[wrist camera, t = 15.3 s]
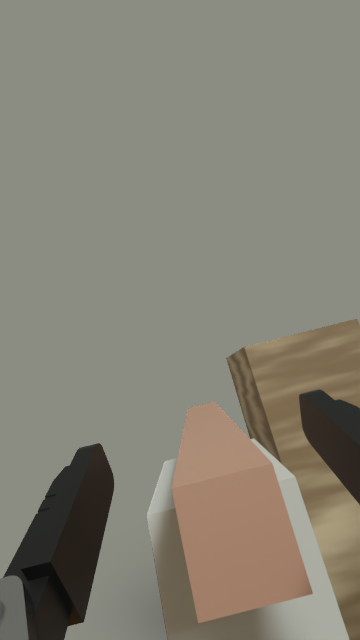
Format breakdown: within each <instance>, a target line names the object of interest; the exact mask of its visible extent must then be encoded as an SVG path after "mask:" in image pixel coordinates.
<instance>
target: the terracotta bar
mask: <svg viewBox="0 0 360 640" xmlns="http://www.w3.org/2000/svg"><path fill="white" fill-rule="evenodd" d="M172 493H173V498H174V504H175V509H176V514H177V519H178V524H179V529H180V534H181V539H182V544H183V549H184V554H185V559H186V564H187V569H188V574H189V579H190V584H191V589H192V594H193V599H194V604H195V609H196V614H197V619H198V623H202V622H206V621H210V620H214V619H217V618H221V617H225V616H229V615H233V614H237V613H241V612H245V611H249V610H253V609H256V608H260V607H264V606H268V605H272V604H276V603H280V602H284V601H288V600H292V599H295V598H299V597H303V596H307V595H311V594H313V592H312V589H311V585H310V582H309V579H308V576H307V573H306V569H305V566H304V563H303V560H302V557H301V553H300V550H299V547H298V544H297V541H296V537H295V534H294V531H293V528H292V525H291V521H290V518H289V515H288V512H287V509H286V505H285V502H284V499H283V496H282V492H281V489H280V486H279V483H278V480H277V476H276V473H275V470H274V467H273V464H272V462H271V461H270V460H269V459H268V458H267V457H266V456H265V455H264V454H263V453H262V452H261V451H260V449H259V448H258V447H257V446H256V445H255V444H254V443H253V442H252V441H251V440H250V439H249V438H248V437H247V436H246V435H245V434H244V432H243V431H242V430H241V429H240V428H239V427H238V426H237V425H236V424H235V423H234V422H233V421H232V420H231V419H230V418H229V417H228V415H227V414H226V413H225V412H224V411H223V410H222V409H221V408H220V407H219V406H218V405H217V404H216V403H215V402H211V403H207V404H203V405H200V406H195V407H191V408H188V412H187V416H186V421H185V426H184V431H183V435H182V441H181V445H180V451H179V455H178V460H177V465H176V469H175V474H174V479H173V484H172Z"/></svg>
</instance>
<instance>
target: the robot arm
mask: <svg viewBox="0 0 360 640" xmlns="http://www.w3.org/2000/svg"><path fill="white" fill-rule="evenodd" d="M299 404H300V412H301V421H302V428H303V431H304V434H305V436H306V438H307V440H308V442H309V443H310V444H311V446H312V447H313V448H314V449H315V451H316V452H317V453H318V454H319V455H320V457H321V458H322V459H323V460H324V462H325V463H326V464H327V465H328V467H329V468H330V469H331V470H332V471H333V473H334V474H335V475H336V476H337V478H338V479H339V480H340V481H341V483H342V484H343V485H344V486H345V487H346V489H347V490H348V491H349V492H350V494H351V495H352V496H353V497H354V499H355V500H356V501H357V502H358V503H359V505H360V408H358V407H357V406H355V405H353V404H350V403H348V402H346V401H343V400H341V399H339V400H334V399H333V398H332V397H330V396H329V395H328V394H327V393H325V392H324V391H323V390H320V389H318V390H314V391H310V392H306V393H302V394H300V395H299ZM113 491H114V478H113V473H112V470H111V468H110V465H109V463H108V460H107V458H106V455H105V452H104V450H103V447H102V445H101V444H99V443H98V444H94V445H90V446H86V447H82V448H79V449H78V450H77V452H76V454H75V456H74V458H73V460H72V462H71V464H70V466H66V467H65V468H64V469H63V470H62V471H61V473H60V474H59V475H58V476H57V477H56V478H55V480H54V481H53V483H52V485H51V486H50V488H49V491H48V492H47V494H46V496H45V500H43V502H42V504H41V506H40V508H39V510H38V514H36V515H35V517H34V519H33V521H32V523H31V525H30V527H29V529H28V531H27V533H26V535H25V537H24V538H23V541H22V542H21V545H20V547H19V548H18V550H17V552H16V554H15V556H14V558H13V560H12V562H11V564H10V566H9V567H8V569H7V571H6V573H5V575H4V577H3V578H2V579H0V640H64V638H65V633H66V630H67V627H68V626H70V625H74V624H78V623H82V622H84V619H85V614H86V610H87V606H88V601H89V597H90V592H91V588H92V583H93V579H94V574H95V570H96V566H97V562H98V557H99V553H100V549H101V544H102V540H103V535H104V531H105V526H106V522H107V518H108V513H109V509H110V504H111V500H112V496H113Z"/></svg>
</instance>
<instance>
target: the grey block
mask: <svg viewBox="0 0 360 640" xmlns="http://www.w3.org/2000/svg"><path fill="white" fill-rule="evenodd" d="M250 440H251V441H252V442H253V443H254V444H255V445H256V446H257V447H258V448H259V449H260V451H261V452H262V453H263V454H264V455H265V456H266V457H267V458H268V459H269V460H270V461H271V462H272V464H273V467H274V470H275V473H276V476H277V480H278V483H279V486H280V489H281V492H282V496H283V499H284V502H285V505H286V509H287V512H288V515H289V518H290V521H291V525H292V528H293V531H294V534H295V537H296V541H297V544H298V547H299V550H300V553H301V557H302V560H303V563H304V566H305V569H306V573H307V576H308V579H309V582H310V585H311V589H312V592H313V594H311V595H307V596H303V597H299V598H295V599H292V600H288V601H284V602H280V603H276V604H272V605H268V606H264V607H260V608H256V609H253V610H249V611H245V612H241V613H237V614H233V615H229V616H225V617H221V618H217V619H214V620H210V621H206V622H202V623H198V619H197V614H196V609H195V604H194V599H193V594H192V589H191V584H190V579H189V574H188V569H187V564H186V559H185V554H184V549H183V544H182V539H181V534H180V529H179V524H178V519H177V514H176V509H175V504H174V498H173V493H172V484H173V479H174V474H175V469H176V465H177V460H178V458H176V459H172V460H168V461H165V462H164V465H163V468H162V471H161V474H160V477H159V480H158V483H157V486H156V489H155V492H154V495H153V498H152V501H151V504H150V507H149V510H148V513H147V520H148V526H149V532H150V537H151V543H152V550H153V555H154V561H155V567H156V573H157V579H158V585H159V591H160V597H161V603H162V609H163V615H164V621H165V627H166V633H167V639H168V640H349V637H348V634H347V631H346V628H345V625H344V622H343V619H342V616H341V613H340V610H339V607H338V604H337V601H336V598H335V595H334V592H333V589H332V586H331V583H330V580H329V577H328V574H327V571H326V567H325V564H324V561H323V558H322V555H321V552H320V549H319V546H318V543H317V540H316V537H315V534H314V531H313V528H312V525H311V522H310V519H309V516H308V513H307V510H306V507H305V504H304V501H303V498H302V495H301V492H300V489H299V486H298V483H297V480H296V477H295V476H294V475H293V474H292V473H291V472H290V471H289V470H288V469H287V468H285V467H284V466H283V465H282V464H281V463H280V462H279V461H278V460H277V459H276V458H275V457H274V456H272V455H271V454H270V453H269V452H268V451H267V450H266V449H265V448H264V447H263V446H262V445H261V444H259V443H258V442H257V441H256V440H255V439H250Z"/></svg>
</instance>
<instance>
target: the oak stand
mask: <svg viewBox="0 0 360 640" xmlns="http://www.w3.org/2000/svg"><path fill="white" fill-rule="evenodd" d="M227 362H228V365H229V368H230V372H231V375H232V379H233V382H234V385H235V389H236V392H237V396H238V399H239V402H240V406H241V409H242V412H243V416H244V419H245V423H246V426H247V429H248V433H249V436H250V439H255V440H256V441H257V442H258V443H259V444H261V445H262V446H263V447H264V448H265V449H266V450H267V451H268V452H269V453H270V454H271V455H272V456H274V457H275V458H276V459H277V460H278V461H279V462H280V463H281V464H282V465H283V466H284V467H285V468H287V469H288V470H289V471H290V472H291V473H292V474H293V475H294V476H295V477H296V480H297V483H298V486H299V489H300V492H301V495H302V498H303V501H304V504H305V507H306V510H307V513H308V516H309V519H310V522H311V525H312V528H313V531H314V534H315V537H316V540H317V543H318V546H319V549H320V552H321V555H322V558H323V561H324V564H325V567H326V571H327V574H328V577H329V580H330V583H331V586H332V589H333V592H334V595H335V598H336V601H337V604H338V607H339V610H340V613H341V616H342V619H343V622H344V625H345V628H346V631H347V634H348V637H349V640H360V505H359V503H358V502H357V501H356V500H355V499H354V497H353V496H352V495H351V494H350V492H349V491H348V490H347V489H346V487H345V486H344V485H343V484H342V483H341V481H340V480H339V479H338V478H337V476H336V475H335V474H334V473H333V471H332V470H331V469H330V468H329V467H328V465H327V464H326V463H325V462H324V460H323V459H322V458H321V457H320V455H319V454H318V453H317V452H316V451H315V449H314V448H313V447H312V446H311V444H310V443H309V442H308V440H307V438H306V436H305V434H304V431H303V428H302V421H301V412H300V404H299V395H300V394H302V393H306V392H310V391H314V390H318V389H320V390H323V391H324V392H325V393H327V394H328V395H329V396H330V397H332V398H333V399H334V400H339V399H341V400H343V401H346V402H348V403H350V404H353V405H355V406H357V407H358V408H360V325H359V322H358V320H357V319H355V320H350V321H346V322H342V323H338V324H334V325H330V326H326V327H322V328H318V329H314V330H310V331H307V332H302V333H298V334H294V335H290V336H286V337H282V338H279V339H274V340H270V341H266V342H262V343H258V344H254V345H250V346H246V347H243V348H242V349H240V350H239V351H237V352H235V353H234V354H232V355H231V356H229V357H228V358H227Z"/></svg>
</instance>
